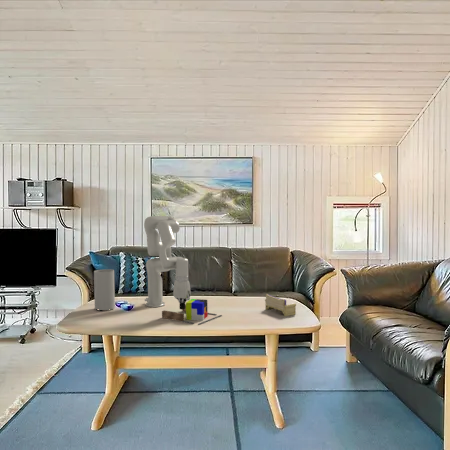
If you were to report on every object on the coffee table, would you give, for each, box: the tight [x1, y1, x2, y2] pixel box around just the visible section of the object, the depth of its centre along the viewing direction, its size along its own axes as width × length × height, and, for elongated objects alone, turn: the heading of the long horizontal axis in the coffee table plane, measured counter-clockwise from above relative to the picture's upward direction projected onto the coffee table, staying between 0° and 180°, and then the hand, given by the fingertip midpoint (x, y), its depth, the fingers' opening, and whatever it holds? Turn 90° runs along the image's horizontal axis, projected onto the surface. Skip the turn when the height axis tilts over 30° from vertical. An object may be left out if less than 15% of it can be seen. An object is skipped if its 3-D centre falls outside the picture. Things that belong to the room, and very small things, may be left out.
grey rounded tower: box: [93, 268, 116, 311], centre depth 260 cm, size 12×12×25 cm
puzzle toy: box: [185, 298, 209, 322], centre depth 236 cm, size 10×10×10 cm
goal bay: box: [181, 312, 223, 326], centre depth 234 cm, size 12×23×1 cm, turn 147°
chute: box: [161, 303, 186, 322], centre depth 242 cm, size 15×21×4 cm
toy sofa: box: [264, 293, 297, 317], centre depth 248 cm, size 21×9×10 cm, turn 30°
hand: (182, 308), depth 242 cm, fingers closed
